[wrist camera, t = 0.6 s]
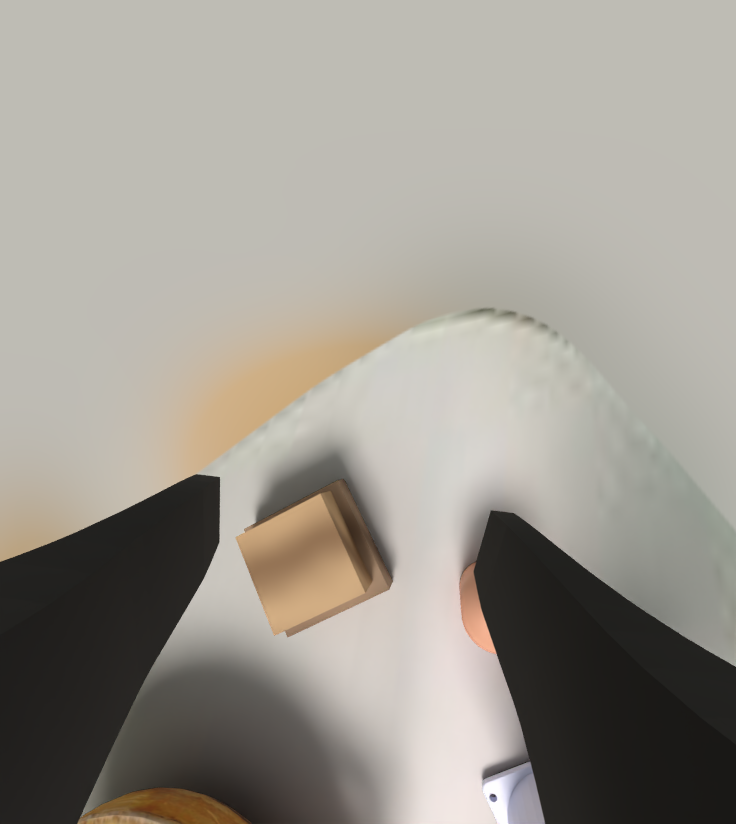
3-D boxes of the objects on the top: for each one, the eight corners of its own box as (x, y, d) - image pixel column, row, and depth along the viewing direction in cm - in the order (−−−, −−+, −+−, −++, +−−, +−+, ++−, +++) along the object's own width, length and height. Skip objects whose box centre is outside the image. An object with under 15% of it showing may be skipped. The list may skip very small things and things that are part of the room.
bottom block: (393, 579, 31) (389, 589, 28) (299, 623, 32) (287, 637, 29) (345, 478, 32) (337, 480, 30) (258, 524, 34) (243, 529, 31)
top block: (372, 581, 28) (365, 593, 26) (288, 621, 29) (274, 635, 27) (330, 490, 30) (320, 493, 28) (252, 531, 31) (235, 537, 28)
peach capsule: (531, 606, 28) (549, 637, 23) (477, 630, 28) (483, 665, 23) (501, 549, 29) (511, 568, 24) (449, 573, 29) (448, 597, 24)
